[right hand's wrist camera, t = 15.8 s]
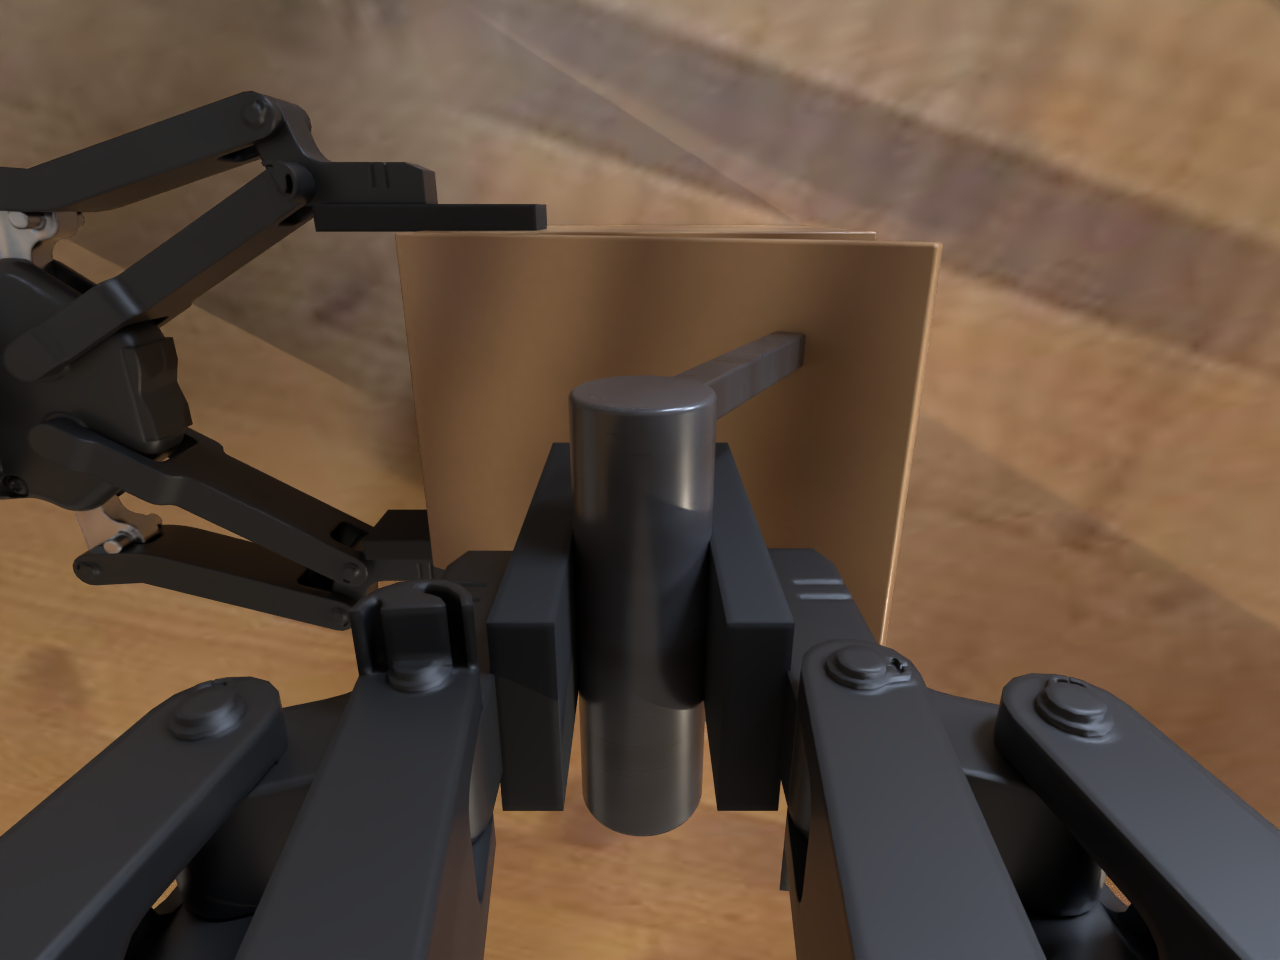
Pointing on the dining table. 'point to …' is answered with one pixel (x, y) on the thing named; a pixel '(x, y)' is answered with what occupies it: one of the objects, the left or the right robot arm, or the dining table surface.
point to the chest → (699, 231)
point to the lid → (666, 442)
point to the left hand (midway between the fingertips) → (549, 387)
